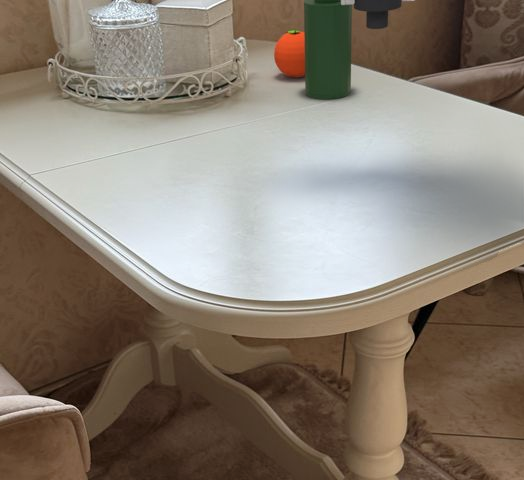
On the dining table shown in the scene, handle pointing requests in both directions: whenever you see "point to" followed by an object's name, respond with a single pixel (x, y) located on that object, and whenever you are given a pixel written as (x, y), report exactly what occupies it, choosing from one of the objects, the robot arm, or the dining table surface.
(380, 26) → the bung
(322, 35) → the bottle
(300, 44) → the clementine
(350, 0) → the robot arm
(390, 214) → the dining table surface
